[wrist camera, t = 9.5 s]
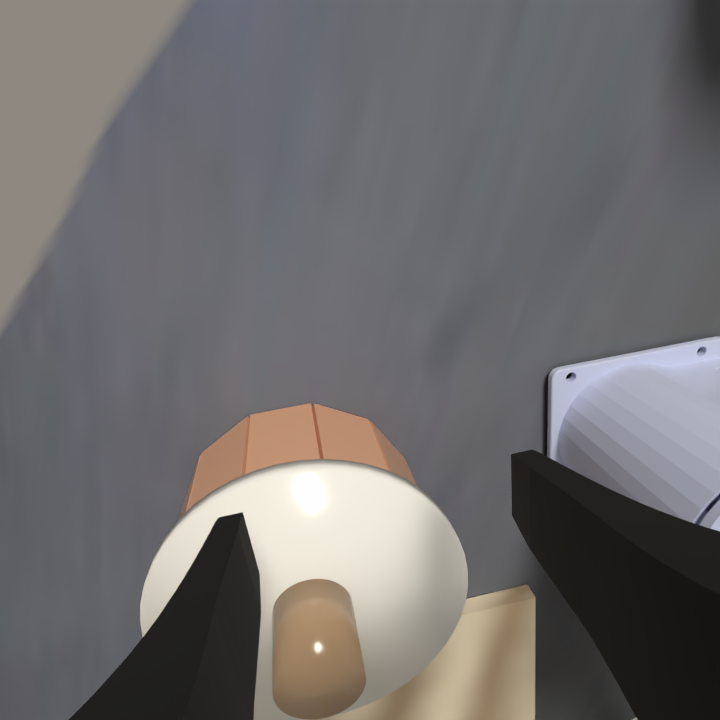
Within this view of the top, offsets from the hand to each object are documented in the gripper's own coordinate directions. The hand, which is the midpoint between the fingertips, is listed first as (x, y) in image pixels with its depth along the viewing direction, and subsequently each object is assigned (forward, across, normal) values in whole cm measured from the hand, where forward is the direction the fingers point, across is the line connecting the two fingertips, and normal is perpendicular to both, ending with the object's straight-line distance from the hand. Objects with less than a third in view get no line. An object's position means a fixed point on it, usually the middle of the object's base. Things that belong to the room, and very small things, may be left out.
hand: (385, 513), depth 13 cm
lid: (+5, +3, +8) cm, 10 cm away
